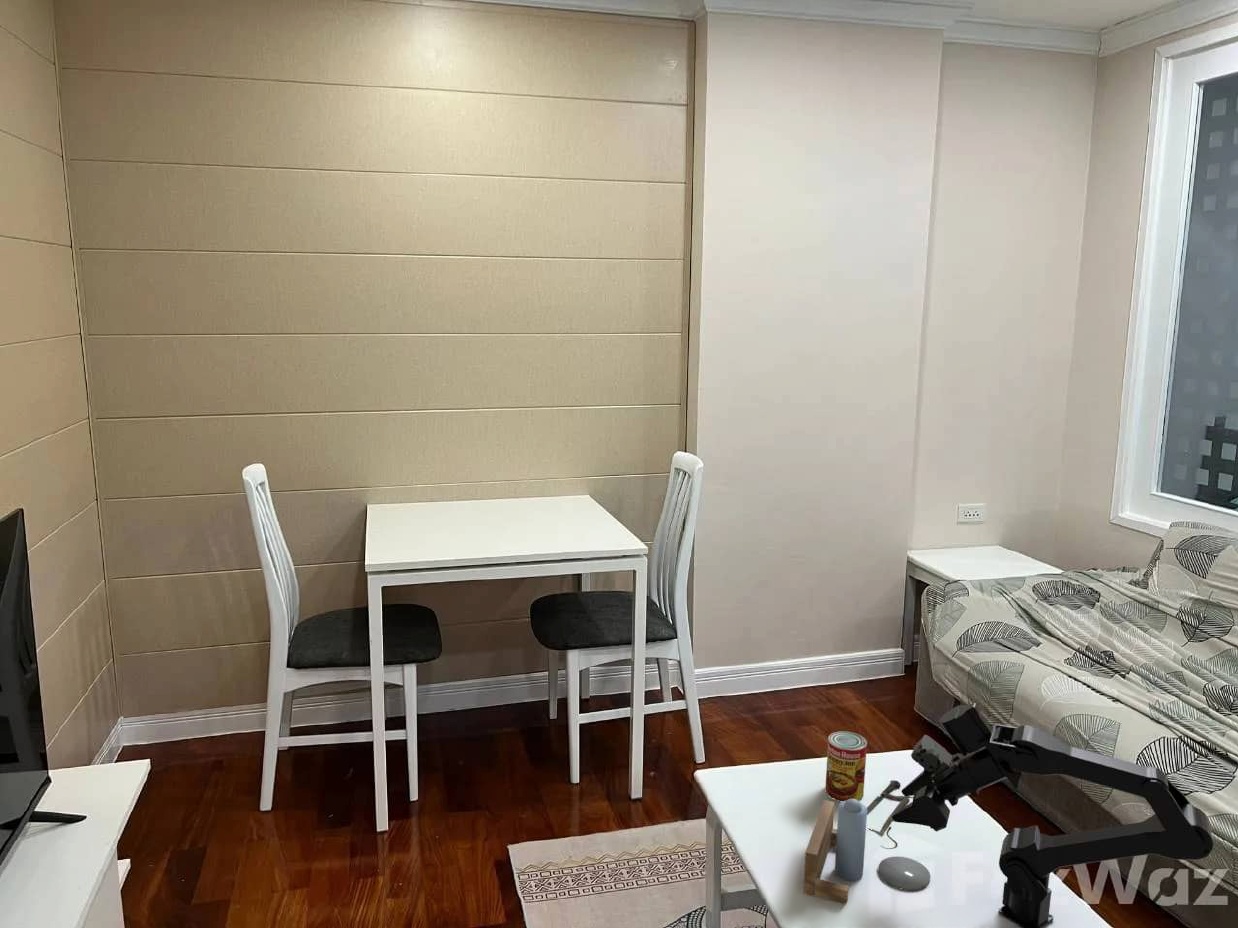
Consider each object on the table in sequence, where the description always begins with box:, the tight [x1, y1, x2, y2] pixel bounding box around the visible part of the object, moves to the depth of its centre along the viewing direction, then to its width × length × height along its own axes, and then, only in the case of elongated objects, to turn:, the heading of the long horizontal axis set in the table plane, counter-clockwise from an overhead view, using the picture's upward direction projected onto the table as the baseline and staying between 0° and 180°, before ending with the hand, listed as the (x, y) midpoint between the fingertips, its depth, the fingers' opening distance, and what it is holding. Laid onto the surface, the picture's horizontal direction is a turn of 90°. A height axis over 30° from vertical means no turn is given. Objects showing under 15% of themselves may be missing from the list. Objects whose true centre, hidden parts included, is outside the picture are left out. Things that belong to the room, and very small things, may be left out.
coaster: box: [877, 856, 931, 891], centre depth 169 cm, size 9×9×1 cm
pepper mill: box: [834, 799, 868, 882], centre depth 168 cm, size 5×5×15 cm
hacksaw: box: [866, 779, 910, 850], centre depth 188 cm, size 24×10×2 cm, turn 141°
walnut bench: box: [802, 799, 849, 905], centre depth 170 cm, size 8×18×8 cm, turn 158°
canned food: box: [824, 730, 868, 802], centre depth 195 cm, size 8×8×12 cm
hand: (898, 805), depth 165 cm, fingers open, 9 cm apart
